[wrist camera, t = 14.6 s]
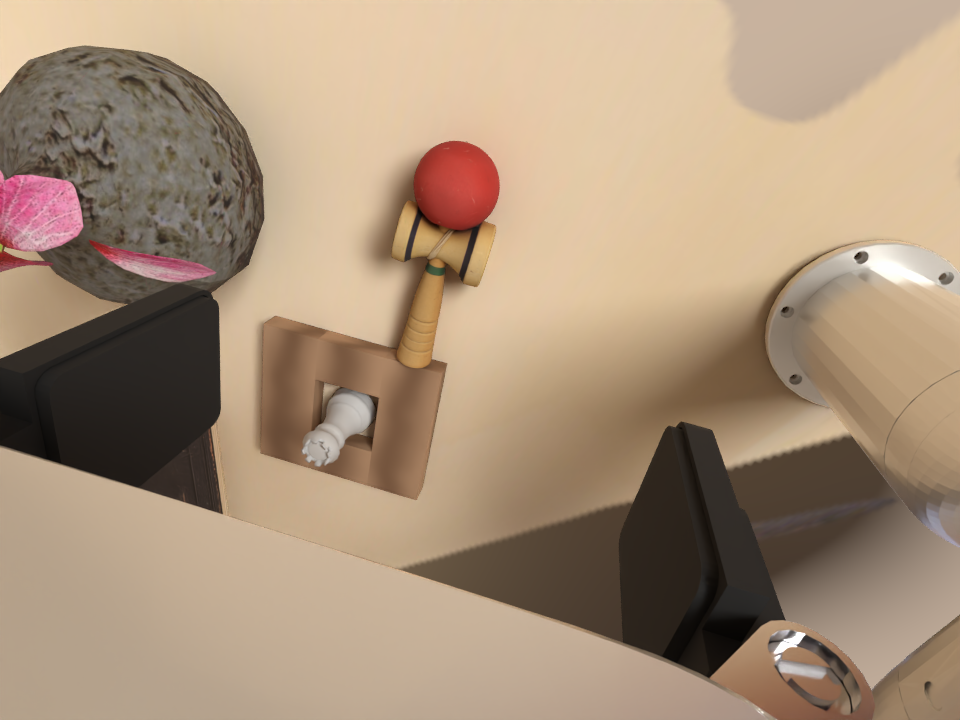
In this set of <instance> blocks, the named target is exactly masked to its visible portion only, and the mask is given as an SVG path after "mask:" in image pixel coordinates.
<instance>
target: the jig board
mask: <svg viewBox="0 0 960 720" xmlns="http://www.w3.org/2000/svg"><path fill="white" fill-rule="evenodd" d="M446 367H447V363H443V362H440V361H436V360H432V359H431V362H430V364H429V365H427V366H426V367H423V368H411V367H408V366H406V365H404V364H402V363H401V362H400V361H399V360H398V358H397V350H396V349H393V348H389V347H386V346H382V345H378V344H375V343H371V342H368V341H364V340H360V339H357V338H353V337H350V336H346V335H342V334H339V333H335V332H332V331H328V330H324V329H321V328H317V327H314V326H310V325H306V324H303V323H299V322H296V321H292V320H288V319H285V318H281V317H278V316H275V317H274V318H272V319H271V320H269V321H268V322H266V323H264V329H263V371H262V414H261V453H262V454H265V455H268V456H271V457H275V458H278V459H281V460H285V461H288V462H291V463H295V464H298V465H301V466H305V467H308V468H311V469H315V470H318V471H321V472H325V473H328V474H331V475H335V476H338V477H341V478H344V479H348V480H351V481H354V482H358V483H361V484H364V485H368V486H371V487H374V488H378V489H381V490H384V491H388V492H391V493H394V494H398V495H401V496H404V497H407V498H411V499H414V500H417V498H418V496H419V494H420V492H421V489H422V487H423V483H424V478H425V472H426V467H427V462H428V457H429V452H430V447H431V442H432V437H433V432H434V427H435V422H436V417H437V412H438V407H439V402H440V397H441V392H442V387H443V382H444V377H445V372H446ZM324 382H326V383H330V384H333V385H337V386H340V387H343V388H347V389H350V390H354V391H357V392H361V393H364V394H368V395H371V396H375V397H378V398H379V402H378V409H377V416H376V423H375V431H374V438H370V437H366V436H363V435H359V434H354V435H350V436H349V437H348V438H347V439H346V440H345V443H344V446H343V447H342V448H341V449H340V450H339V451H340V454H339V456H338V459H337V460H335V461H334V462H333V463H329V464H327V465H324V464H322V465H321V466H320V467H316V466H314V464H315V462H314V461H312V460H311V462H310V463H308V462H307V461H306V460H305V458H306V457H307V455H306V454H302V453H301V449H302V448H303V442H302V441H303V439H304V436H305V435H306V434H307V433H308V432H310V431H314V430H315V428H316V427H317V426H318V425H319V424H322V423H321V413H322V401H323V389H324Z"/></svg>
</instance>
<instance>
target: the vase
mask: <svg viewBox="0 0 960 720" xmlns="http://www.w3.org/2000/svg"><path fill="white" fill-rule="evenodd" d="M263 221H264V199H263V175H262V173H261V170H260V167H259V165H258V162H257V159H256V157H255V154H254V151H253V149H252V146H251V143H250V141H249V138H248V135H247V133H246V130H245V129H244V128H243V126H242V125H241V124H240V122H239V121H238V120H237V118H236V117H235V116H234V114H233V113H232V112H231V110H230V109H229V108H228V106H227V105H226V103H225V102H224V101H223V99H222V98H221V97H220V95H219V94H218V93H217V92H216V91H215V90H214V89H213V88H212V87H211V86H210V85H209V84H208V83H207V82H206V81H205V80H203V79H201V78H199V77H198V76H196V75H194V74H192V73H191V72H189V71H187V70H185V69H184V68H182V67H180V66H179V65H177V64H175V63H173V62H172V61H170V60H168V59H166V58H163V57H159V56H156V55H153V54H150V53H145V52H139V51H132V50H124V49H114V48H104V47H94V46H79V47H72V48H66V49H63V50H60V51H57V52H53V53H50V54H47V55H44V56H41V57H37V58H34V59H31V60H29V61H28V62H27V63H26V64H25V65H23V66H22V67H21V68H20V69H19V70H18V71H17V73H16V74H15V75H14V76H13V78H12V79H11V80H10V82H9V83H8V84H7V85H6V87H5V88H4V89H3V90H2V92H1V93H0V272H2V271H5V270H9V269H12V268H15V267H20V266H26V265H42V266H50V267H51V268H52V269H53V271H54V272H55V273H56V274H58V275H59V276H61V277H62V278H63V279H65V280H67V281H69V282H70V283H72V284H74V285H76V286H78V287H80V288H81V289H83V290H85V291H87V292H89V293H90V294H92V295H94V296H96V297H98V298H99V299H104V300H108V301H112V302H118V303H124V304H131V303H133V302H135V301H138V300H140V299H142V298H145V297H147V296H149V295H152V294H154V293H156V292H159V291H161V290H164V289H166V288H168V287H171V286H173V285H175V284H179V283H181V284H185V285H189V286H192V287H196V288H200V289H203V290H207V291H209V292H210V293H212V292H213V291H214V290H216V289H217V288H218V287H220V286H221V285H222V284H224V283H225V282H226V281H228V280H229V279H230V278H232V277H233V276H234V275H236V274H237V273H238V272H240V271H241V270H242V269H244V268H245V267H246V266H248V265H249V262H250V259H251V256H252V253H253V250H254V247H255V244H256V241H257V238H258V235H259V233H260V230H261V227H262V224H263ZM5 247H7V248H12V249H16V250H21V251H36V252H37V253H38V254H39V255H40V256H41V257H42V258H43V259H44V261H30V260H24V259H21V258H18V257H14V256H12V255H10V254H8V253H6V252H5V251H4V248H5Z"/></svg>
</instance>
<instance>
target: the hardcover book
mask: <svg viewBox="0 0 960 720" xmlns="http://www.w3.org/2000/svg"><path fill="white" fill-rule="evenodd" d="M139 488H140V489H144V490H147V491H150V492H153V493H156V494H159V495H163V496H166V497H169V498H172V499H175V500H179V501H182V502H185V503H188V504H191V505H194V506H198V507H201V508H204V509H207V510H210V511H214V512H217V513H220V514H223V515H226V516H229V514H228V506H227V498H226V490H225V483H224V475H223V467H222V459H221V451H220V443H219V436H218V428H217V421H216V423H215V424H214V425H213V426H212V427H211V428H210V429H208V430H207V431H206V432H205V433H204V434H202V435H201V436H200V437H199V438H198V439H196V440H195V441H194V442H193V443H192V444H190V445H189V446H188V447H187V448H186V449H184V450H183V451H182V452H181V453H180V454H178V455H177V456H176V457H175V458H174V459H172V460H171V461H170V462H169V463H168V464H166V465H165V466H164V467H163V468H161V469H160V470H159V471H158V472H157V473H155V474H154V475H153V476H152V477H151V478H149V479H148V480H147V481H146V482H145V483H143V484H142V485H141V486H140V487H139Z"/></svg>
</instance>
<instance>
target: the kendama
mask: <svg viewBox="0 0 960 720" xmlns="http://www.w3.org/2000/svg"><path fill="white" fill-rule="evenodd" d="M499 188H500V187H499V176H498V172H497V169H496V167H495V165H494V163H493V161H492V160H491V158H490V157H489V156H488V155H487V154H486V153H485V152H484V151H483V150H481V149H480V148H478V147H477V146H475V145H472V144H470V143H468V142H467V141H466V142H461V141H449V142H444V143H441V144H439V145H436V146H435V147H433V148H432V149H430V150H429V151H428V152H427V153H426V154H425V155H424V157H423V158H422V159H421V161H420V163H419V165H418V167H417V169H416V172H415V176H414V194H415V198H416V201H417V202H414V201H410V200H409V201H407V202H406V203H405V205H404V207H403V209H402V212H401V215H400V217H399V221H398V224H397V228H396V233H395V236H394V240H393V244H392V251H391V255H392V258H394V259H397V260H399V261H402V262H405V261H407V260H410V259H412V258H416V257H423V256H424V257H427V258H426V259H428V263H427V265H426V268H425V270H424V273H423V275H422V278H421V280H420V283H419V285H418V288H417V291H416V294H415V296H414V299H413V303H412V306H411V309H410V313H409V316H408V320H407V323H406V326H405V330H404V333H403V336H402V339H401V342H400V345H399V347H398V350H397V358H398V360H399V361H400V362H401V363H402V364H404V365H406V366H408V367H411V368H423V367H426V366H427V365H429V364H430V362H431V359H432V351H433V345H434V339H435V334H436V328H437V324H438V317H439V313H440V308H441V303H442V296H443V288H444V278H445V267H446V263H447V264H448V265H450V266H451V267H452V268H453V269H454V270H455V271H456V272H457V274H458V275H459V277H460V278H461V280H462V282H463V284H467V285H470V286H474V287H477V286H478V285H479V284H480V281H481V278H482V275H483V272H484V270H485V267H486V263H487V261H488V257H489V254H490V250H491V247H492V244H493V241H494V237H495V233H496V226H495V225H493V224H490V223H488V222H485V221H484V220H485V219H486V218H487V217H488V216H489V215H490V214H491V212H492V211H493V209H494V207H495V205H496V203H497V199H498V196H499Z"/></svg>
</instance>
